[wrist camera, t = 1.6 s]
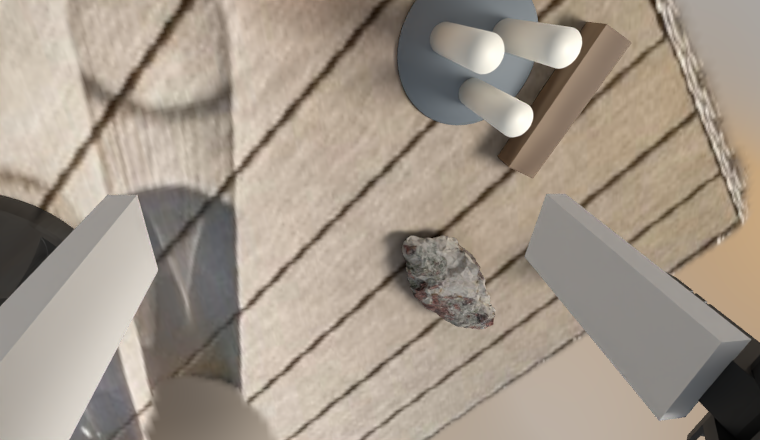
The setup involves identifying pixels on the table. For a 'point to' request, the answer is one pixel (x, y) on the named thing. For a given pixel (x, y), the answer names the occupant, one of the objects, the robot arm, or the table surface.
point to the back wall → (565, 98)
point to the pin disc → (444, 77)
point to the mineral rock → (448, 281)
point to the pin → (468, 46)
